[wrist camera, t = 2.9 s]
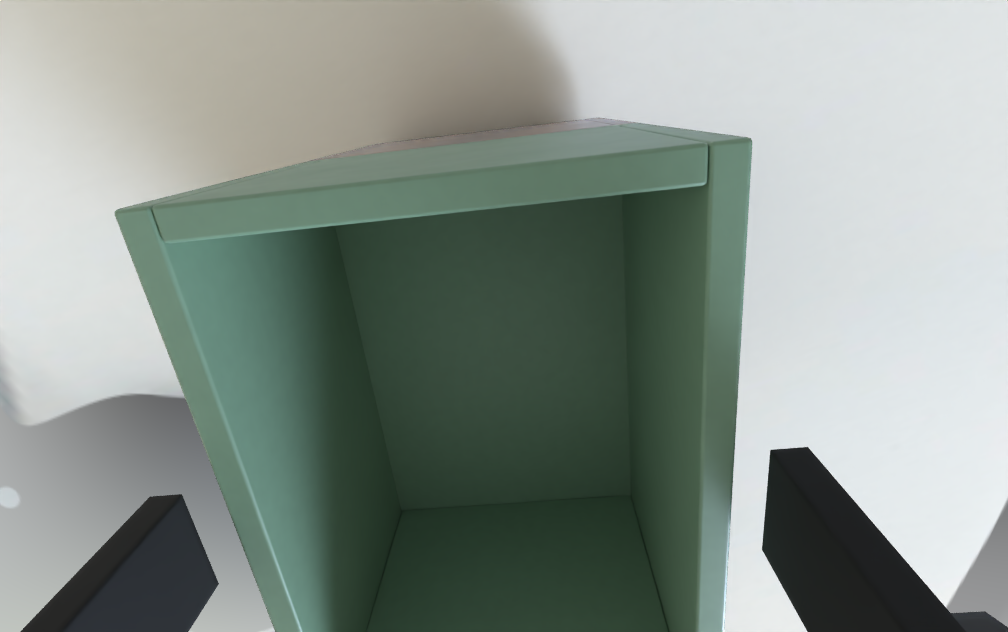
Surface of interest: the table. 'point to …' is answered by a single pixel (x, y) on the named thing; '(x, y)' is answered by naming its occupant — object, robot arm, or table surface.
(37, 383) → the table surface
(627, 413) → the box
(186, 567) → the robot arm
